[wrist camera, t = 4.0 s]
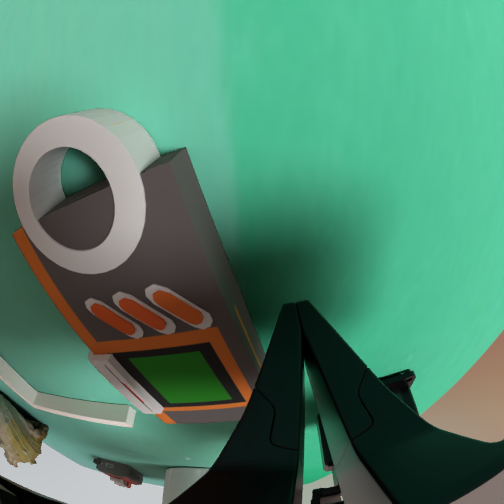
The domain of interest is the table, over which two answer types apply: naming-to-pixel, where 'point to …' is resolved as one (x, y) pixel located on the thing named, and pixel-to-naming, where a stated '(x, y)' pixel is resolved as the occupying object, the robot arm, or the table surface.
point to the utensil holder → (180, 481)
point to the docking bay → (67, 402)
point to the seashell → (19, 435)
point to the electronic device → (138, 268)
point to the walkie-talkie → (119, 472)
